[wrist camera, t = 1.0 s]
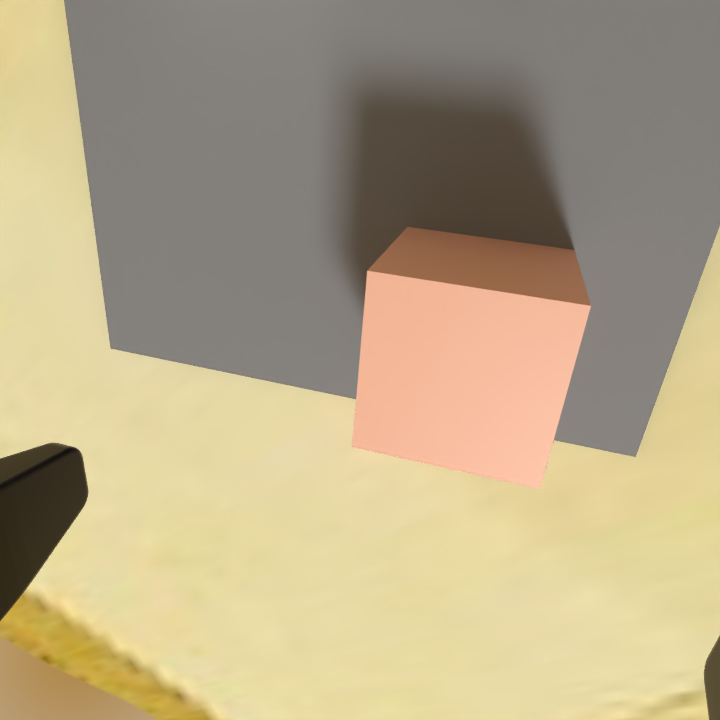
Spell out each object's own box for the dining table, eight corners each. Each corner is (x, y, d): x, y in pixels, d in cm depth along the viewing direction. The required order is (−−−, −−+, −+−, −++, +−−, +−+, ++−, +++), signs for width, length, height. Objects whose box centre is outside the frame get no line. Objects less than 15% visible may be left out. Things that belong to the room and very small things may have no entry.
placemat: (1111, -880, 8) (1136, -924, 8) (633, 450, 19) (635, 456, 19) (-10, -643, 12) (-25, -663, 12) (117, 344, 23) (110, 348, 23)
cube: (574, 249, 16) (591, 305, 12) (537, 396, 19) (539, 489, 14) (407, 227, 17) (367, 270, 13) (391, 369, 20) (351, 447, 15)
